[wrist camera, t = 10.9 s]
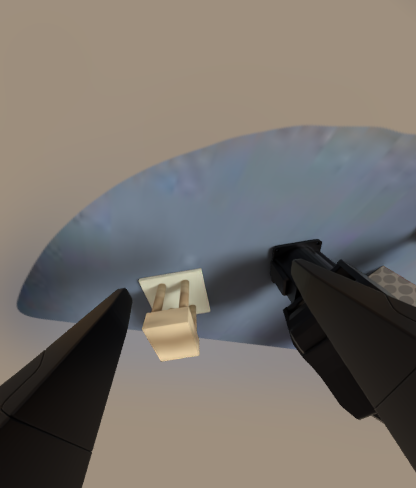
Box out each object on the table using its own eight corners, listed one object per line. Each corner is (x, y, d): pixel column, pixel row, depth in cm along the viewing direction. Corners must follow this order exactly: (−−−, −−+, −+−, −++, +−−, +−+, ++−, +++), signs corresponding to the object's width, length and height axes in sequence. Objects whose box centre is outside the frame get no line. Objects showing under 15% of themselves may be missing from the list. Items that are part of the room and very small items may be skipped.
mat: (201, 268, 23) (201, 270, 23) (210, 309, 28) (210, 311, 28) (139, 278, 24) (138, 281, 23) (158, 317, 28) (157, 320, 28)
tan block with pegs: (198, 309, 27) (199, 355, 21) (168, 314, 27) (161, 361, 21) (189, 277, 24) (187, 321, 17) (155, 283, 24) (141, 329, 18)
